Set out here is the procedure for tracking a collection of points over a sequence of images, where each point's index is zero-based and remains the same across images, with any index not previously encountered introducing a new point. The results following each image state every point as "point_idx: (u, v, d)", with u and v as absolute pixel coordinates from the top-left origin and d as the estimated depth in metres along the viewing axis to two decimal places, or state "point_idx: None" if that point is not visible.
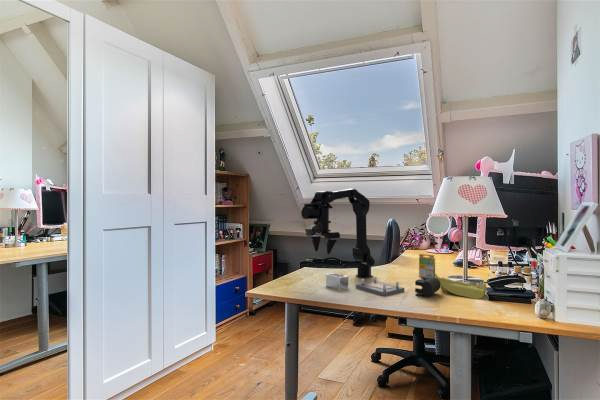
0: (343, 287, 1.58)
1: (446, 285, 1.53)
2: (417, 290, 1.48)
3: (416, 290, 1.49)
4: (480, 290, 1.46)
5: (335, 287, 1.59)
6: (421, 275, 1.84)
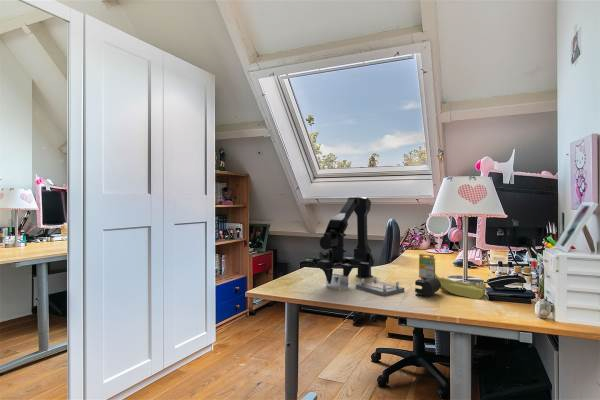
0: (343, 287, 1.58)
1: (446, 285, 1.53)
2: (417, 290, 1.48)
3: (416, 290, 1.49)
4: (480, 290, 1.47)
5: (335, 287, 1.59)
6: (421, 275, 1.84)
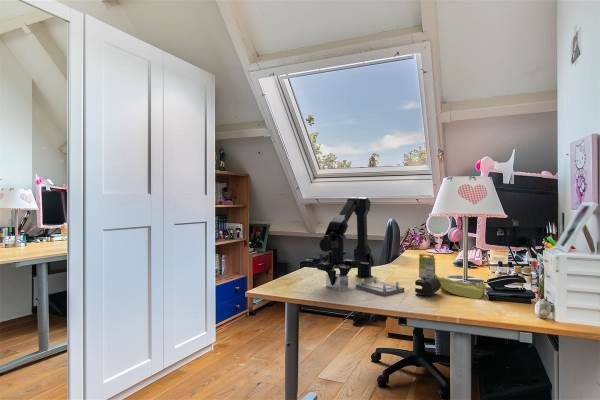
0: (343, 287, 1.58)
1: (445, 285, 1.53)
2: (417, 290, 1.48)
3: (416, 290, 1.49)
4: (479, 290, 1.47)
5: (335, 287, 1.59)
6: (421, 275, 1.84)
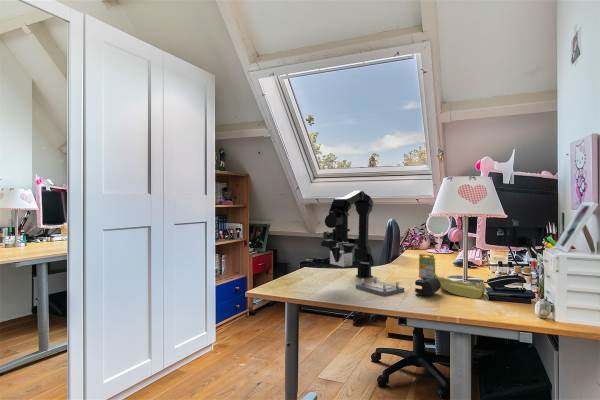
0: (347, 263, 1.58)
1: (445, 284, 1.54)
2: (417, 290, 1.48)
3: (416, 290, 1.49)
4: (478, 290, 1.47)
5: (339, 264, 1.59)
6: (421, 275, 1.84)
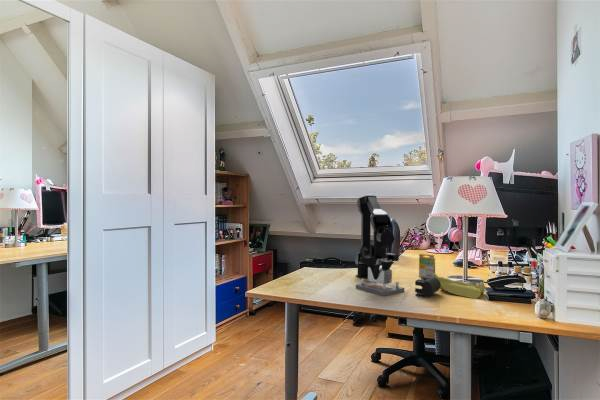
0: (387, 281, 1.54)
1: (444, 284, 1.54)
2: (417, 290, 1.48)
3: (416, 290, 1.49)
4: (477, 290, 1.47)
5: (378, 281, 1.55)
6: (421, 275, 1.84)
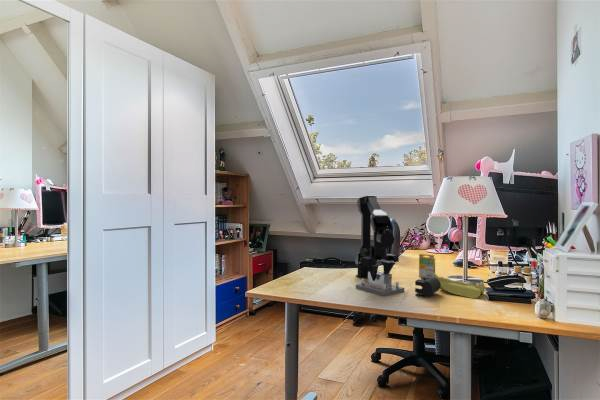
0: (387, 285, 1.54)
1: (444, 284, 1.54)
2: (417, 290, 1.48)
3: (416, 290, 1.49)
4: (477, 290, 1.47)
5: (378, 285, 1.55)
6: (421, 275, 1.84)
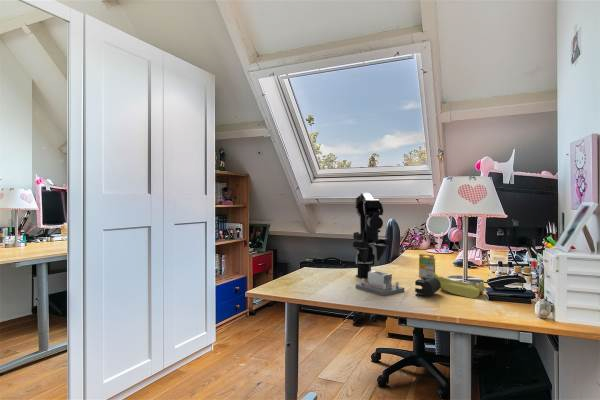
0: (387, 285, 1.54)
1: (443, 284, 1.55)
2: (417, 290, 1.48)
3: (416, 290, 1.49)
4: (476, 289, 1.47)
5: (378, 285, 1.55)
6: (421, 275, 1.84)
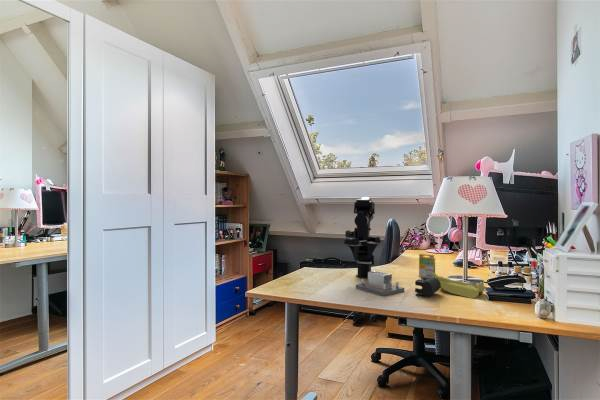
0: (387, 285, 1.54)
1: (443, 284, 1.55)
2: (417, 290, 1.48)
3: (416, 290, 1.49)
4: (475, 289, 1.47)
5: (378, 285, 1.55)
6: (421, 275, 1.84)
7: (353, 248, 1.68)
